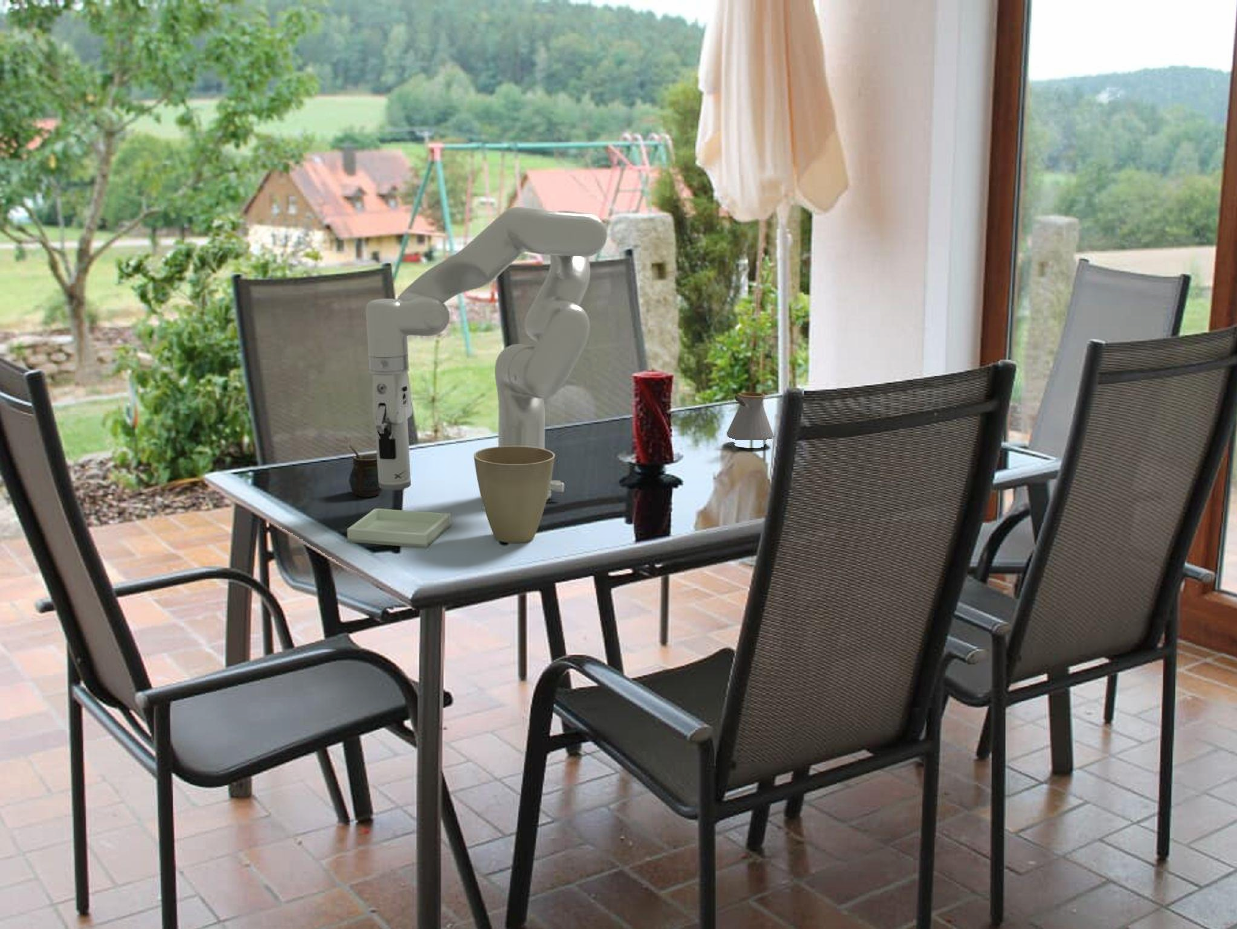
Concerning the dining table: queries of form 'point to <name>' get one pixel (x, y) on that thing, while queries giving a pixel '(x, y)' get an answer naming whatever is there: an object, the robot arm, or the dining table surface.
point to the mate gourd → (365, 475)
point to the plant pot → (514, 489)
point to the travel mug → (396, 470)
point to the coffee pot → (750, 419)
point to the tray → (399, 528)
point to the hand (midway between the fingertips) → (393, 453)
